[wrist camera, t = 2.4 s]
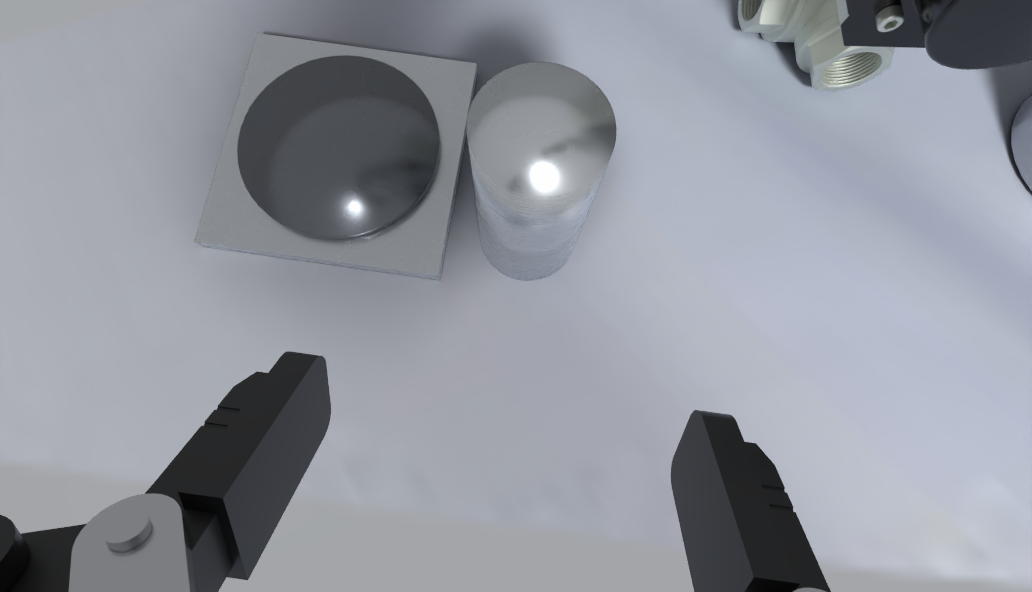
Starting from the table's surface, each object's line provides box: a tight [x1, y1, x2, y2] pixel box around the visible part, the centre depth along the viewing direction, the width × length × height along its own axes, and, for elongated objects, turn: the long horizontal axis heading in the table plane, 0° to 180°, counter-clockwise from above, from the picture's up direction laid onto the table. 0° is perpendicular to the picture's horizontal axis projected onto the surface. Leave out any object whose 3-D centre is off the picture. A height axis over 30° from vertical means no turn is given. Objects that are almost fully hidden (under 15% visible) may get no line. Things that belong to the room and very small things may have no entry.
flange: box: [194, 33, 478, 280], centre depth 26 cm, size 12×12×1 cm
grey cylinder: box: [467, 62, 616, 280], centre depth 21 cm, size 5×5×10 cm
